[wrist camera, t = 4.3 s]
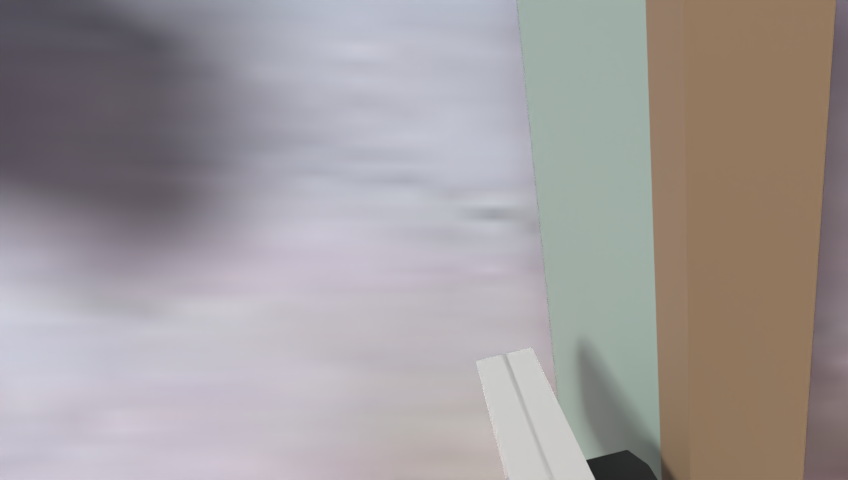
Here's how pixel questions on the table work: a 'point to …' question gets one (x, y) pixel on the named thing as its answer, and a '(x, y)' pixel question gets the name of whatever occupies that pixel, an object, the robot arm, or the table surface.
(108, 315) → the table surface
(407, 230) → the table surface
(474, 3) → the table surface
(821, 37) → the gate
